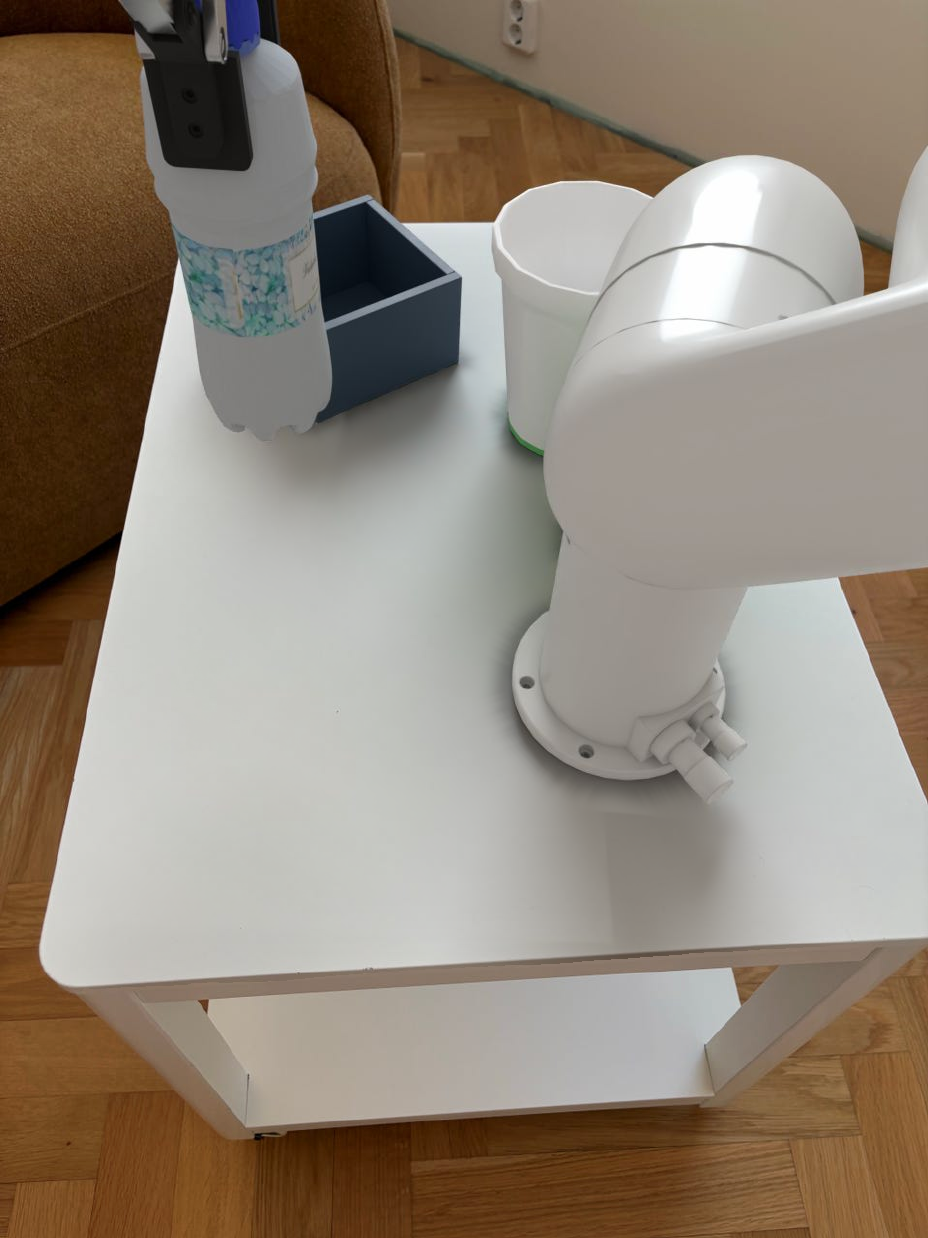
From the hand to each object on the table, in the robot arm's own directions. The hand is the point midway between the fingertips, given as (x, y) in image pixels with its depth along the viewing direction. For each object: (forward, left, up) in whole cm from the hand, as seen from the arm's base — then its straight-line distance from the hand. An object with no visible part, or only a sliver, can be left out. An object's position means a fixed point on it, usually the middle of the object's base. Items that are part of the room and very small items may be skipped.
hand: (227, 114), depth 38 cm
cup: (+3, -24, -31) cm, 39 cm away
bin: (+19, -15, -30) cm, 39 cm away
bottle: (0, 0, -15) cm, 15 cm away
